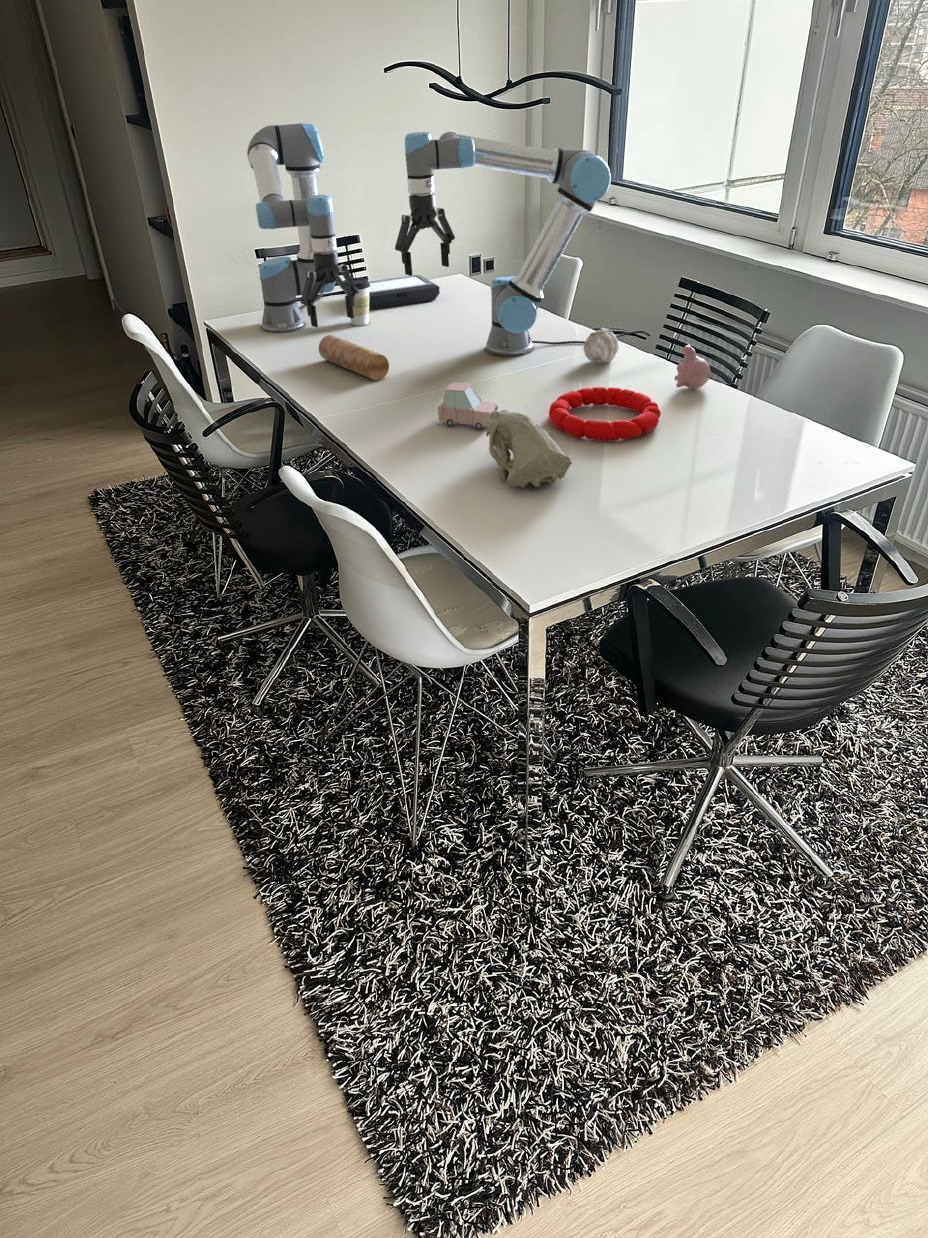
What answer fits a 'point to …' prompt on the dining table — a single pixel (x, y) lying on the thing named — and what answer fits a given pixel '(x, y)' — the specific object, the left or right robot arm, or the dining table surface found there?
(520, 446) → the grey irregular stone chunk
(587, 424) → the decorative ring
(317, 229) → the left robot arm
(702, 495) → the dining table surface
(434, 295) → the electronic device
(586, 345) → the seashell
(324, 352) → the brown cylinder
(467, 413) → the toy car
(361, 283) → the coffee cup
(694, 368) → the figurine
